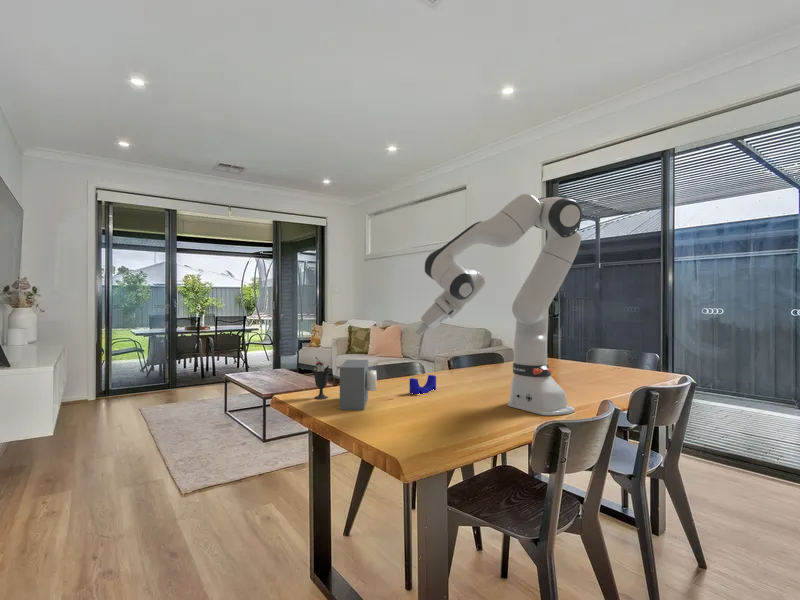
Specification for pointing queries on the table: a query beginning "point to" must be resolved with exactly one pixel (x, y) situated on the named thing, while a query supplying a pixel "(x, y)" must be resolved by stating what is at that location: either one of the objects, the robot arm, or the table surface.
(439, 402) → the table surface
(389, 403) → the table surface
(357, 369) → the block
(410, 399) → the table surface
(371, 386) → the knob
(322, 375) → the sundae
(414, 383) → the blue u-shaped block
